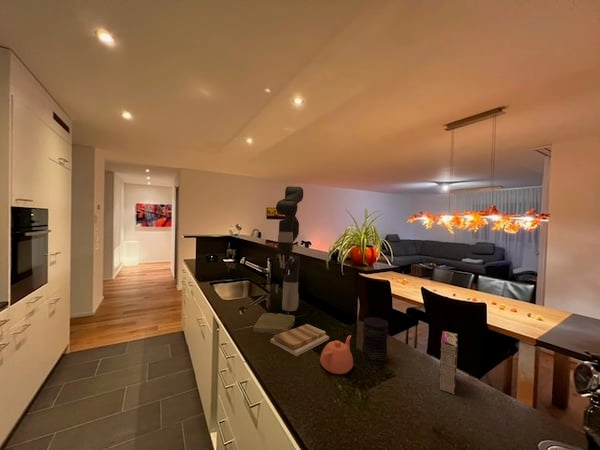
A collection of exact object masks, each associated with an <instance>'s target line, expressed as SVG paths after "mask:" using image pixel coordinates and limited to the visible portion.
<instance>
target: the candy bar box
mask: <svg viewBox="0 0 600 450" xmlns="http://www.w3.org/2000/svg"><path fill="white" fill-rule="evenodd" d="M439 355H440V357H439V360H440V361H439V379H438V381H439V382H438V384H439V385H438V390H439V391H442V392H445V393H449V394H452V395H456V387H457V386H456V384H457V382H456V381H457V366H458V365H457V361H458V334H457V333H455V332H450V331H446V330H443V331H442V334H441V340H440V353H439Z"/></svg>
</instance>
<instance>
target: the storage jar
mask: <svg viewBox="0 0 600 450" xmlns="http://www.w3.org/2000/svg"><path fill="white" fill-rule="evenodd" d="M362 329H363V330H362V334H363V340H362V345H361V351H362V352H361V356H362V358H363V360H364V361H366V362H368V363H370V364H373V365H374V364H375V365H383V364H385V363H386V362H387V355H388V346H387V344H388V341H387V340H388V337H389V322H388V320H385V319H383V318H380V317H377V316H376V317H375V316H367V317H365V318H364V319H363V328H362Z"/></svg>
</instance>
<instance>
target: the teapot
mask: <svg viewBox="0 0 600 450" xmlns="http://www.w3.org/2000/svg"><path fill="white" fill-rule="evenodd" d="M351 338H352V335H351V334H349V335H348V336H347V338H346V340H345V343H344V342H342V341H340V340H332V341H330V342H328V343H327V344H326V345H325V346H324V348H323V349H322V351H321V354H320V358H319V359H320V360H319V361H320V364H321V366H322V367H323V368H324V370H326V371H327V372H329V373H331V374H334V375H345V374H347V373H349V372H350V371H351V370H352V368H353V367H354V358H353V357H354V356H353V355H352V352H351V341H350V340H351Z"/></svg>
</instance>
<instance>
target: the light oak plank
mask: <svg viewBox="0 0 600 450" xmlns="http://www.w3.org/2000/svg"><path fill="white" fill-rule="evenodd" d="M297 328H299V329H302V330H304V331H306V332H308V333H311V334H313V335H315V336H317V337H316V339H318V338H320V337H322V336H324V335H327V334H326V333H327V332H326V331H325V330H322V329H320V328H317V327H316V326H313V325H311V324H308V323H305V324H303V325H300V326H298V327H297Z"/></svg>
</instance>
